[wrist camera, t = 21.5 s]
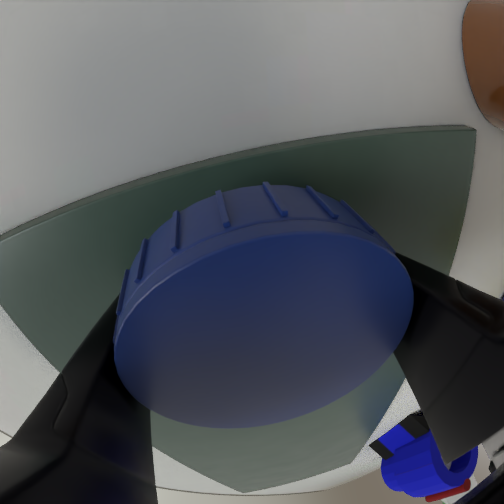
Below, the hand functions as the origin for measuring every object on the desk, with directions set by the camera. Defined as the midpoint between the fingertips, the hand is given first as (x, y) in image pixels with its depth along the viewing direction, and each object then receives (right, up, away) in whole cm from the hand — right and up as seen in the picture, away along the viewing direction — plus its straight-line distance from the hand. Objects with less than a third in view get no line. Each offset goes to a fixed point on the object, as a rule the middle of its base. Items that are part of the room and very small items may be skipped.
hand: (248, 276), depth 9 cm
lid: (+1, -2, -2) cm, 3 cm away
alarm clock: (+23, -24, +23) cm, 41 cm away
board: (+3, -16, +12) cm, 21 cm away
